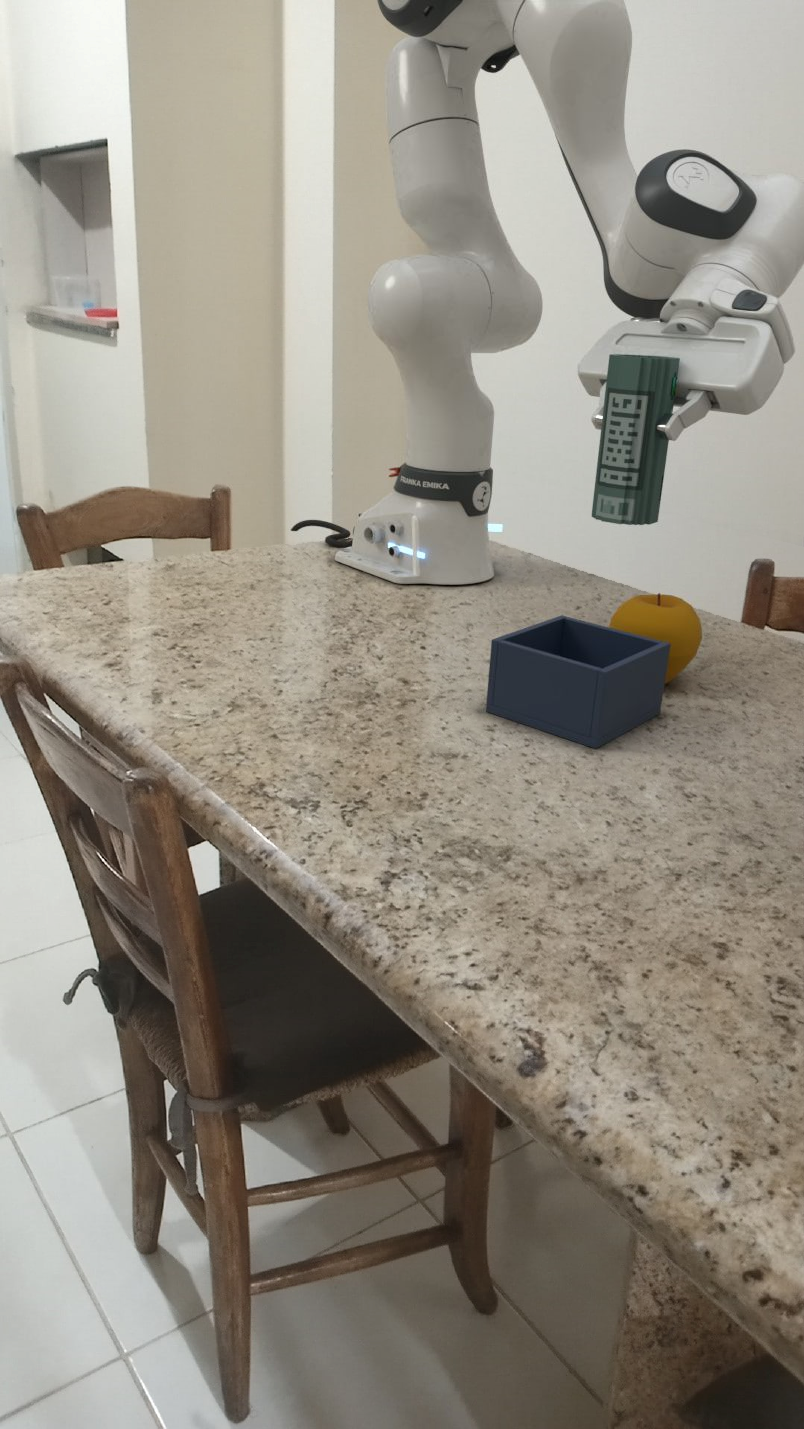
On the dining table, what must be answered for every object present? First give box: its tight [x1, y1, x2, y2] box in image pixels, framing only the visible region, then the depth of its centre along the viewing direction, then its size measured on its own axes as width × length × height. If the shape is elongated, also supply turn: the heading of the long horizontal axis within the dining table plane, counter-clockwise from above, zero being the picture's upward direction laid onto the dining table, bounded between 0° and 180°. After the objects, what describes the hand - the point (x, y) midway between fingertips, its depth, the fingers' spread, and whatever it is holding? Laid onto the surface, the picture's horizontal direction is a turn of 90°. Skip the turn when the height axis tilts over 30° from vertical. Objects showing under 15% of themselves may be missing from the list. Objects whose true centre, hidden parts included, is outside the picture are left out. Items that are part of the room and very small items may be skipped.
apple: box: [608, 592, 703, 684], centre depth 100 cm, size 9×9×9 cm
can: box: [591, 354, 680, 526], centre depth 97 cm, size 6×6×15 cm
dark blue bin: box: [485, 614, 671, 750], centre depth 91 cm, size 11×11×7 cm
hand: (631, 430), depth 96 cm, fingers closed on can, 6 cm apart
